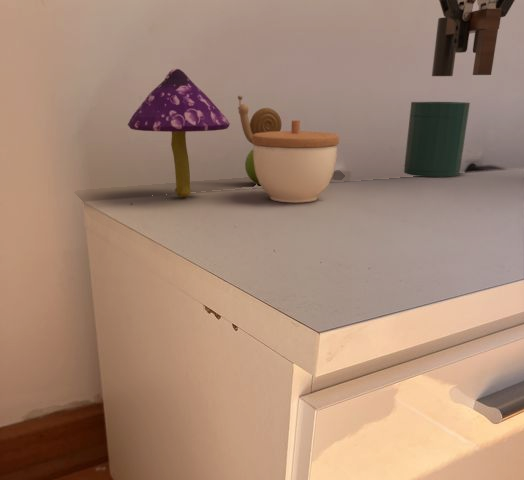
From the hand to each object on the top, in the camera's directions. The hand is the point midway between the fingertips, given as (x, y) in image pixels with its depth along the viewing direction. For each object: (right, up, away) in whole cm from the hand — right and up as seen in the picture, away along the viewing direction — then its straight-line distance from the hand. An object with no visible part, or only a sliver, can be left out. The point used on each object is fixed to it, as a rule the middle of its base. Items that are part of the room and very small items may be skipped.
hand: (469, 51), depth 82 cm
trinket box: (-26, -24, -9) cm, 36 cm away
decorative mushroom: (-40, -24, -9) cm, 48 cm away
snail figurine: (-30, -19, +2) cm, 36 cm away
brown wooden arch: (0, -2, +3) cm, 4 cm away
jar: (-1, -13, +14) cm, 19 cm away
